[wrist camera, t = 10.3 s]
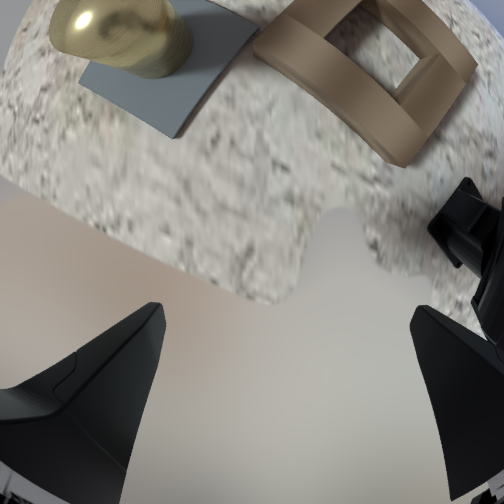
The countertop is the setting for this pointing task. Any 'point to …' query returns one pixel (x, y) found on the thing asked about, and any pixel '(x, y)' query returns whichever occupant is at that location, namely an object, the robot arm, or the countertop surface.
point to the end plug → (123, 34)
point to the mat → (185, 78)
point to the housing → (359, 82)
